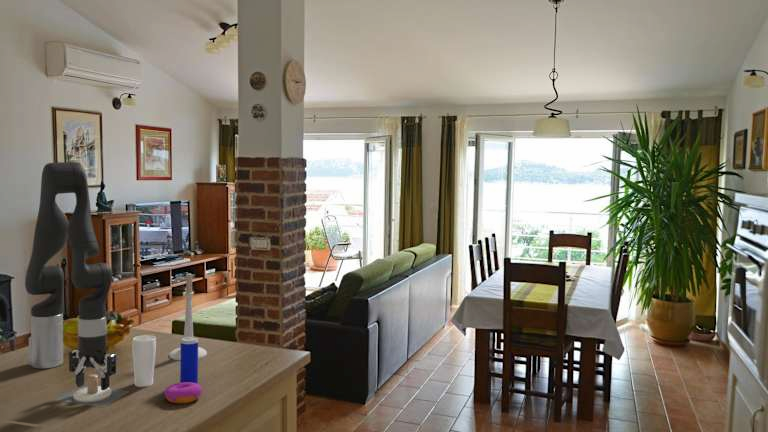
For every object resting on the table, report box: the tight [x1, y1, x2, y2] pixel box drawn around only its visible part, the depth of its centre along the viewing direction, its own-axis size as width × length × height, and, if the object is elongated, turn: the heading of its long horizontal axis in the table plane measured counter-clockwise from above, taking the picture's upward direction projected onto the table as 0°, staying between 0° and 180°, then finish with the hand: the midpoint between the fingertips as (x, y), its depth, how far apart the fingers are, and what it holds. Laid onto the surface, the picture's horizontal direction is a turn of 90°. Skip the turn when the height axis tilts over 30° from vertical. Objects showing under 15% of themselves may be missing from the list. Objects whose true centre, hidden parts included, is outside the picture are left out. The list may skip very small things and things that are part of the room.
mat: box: [53, 385, 130, 408], centre depth 174 cm, size 16×12×1 cm
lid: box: [73, 373, 112, 403], centre depth 174 cm, size 10×10×6 cm
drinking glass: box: [131, 334, 157, 388], centre depth 185 cm, size 7×7×15 cm
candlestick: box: [169, 273, 208, 362], centre depth 215 cm, size 13×13×30 cm
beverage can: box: [179, 336, 199, 384], centre depth 186 cm, size 5×5×15 cm
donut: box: [164, 382, 203, 404], centre depth 176 cm, size 10×10×5 cm
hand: (92, 387), depth 174 cm, fingers open, 7 cm apart
